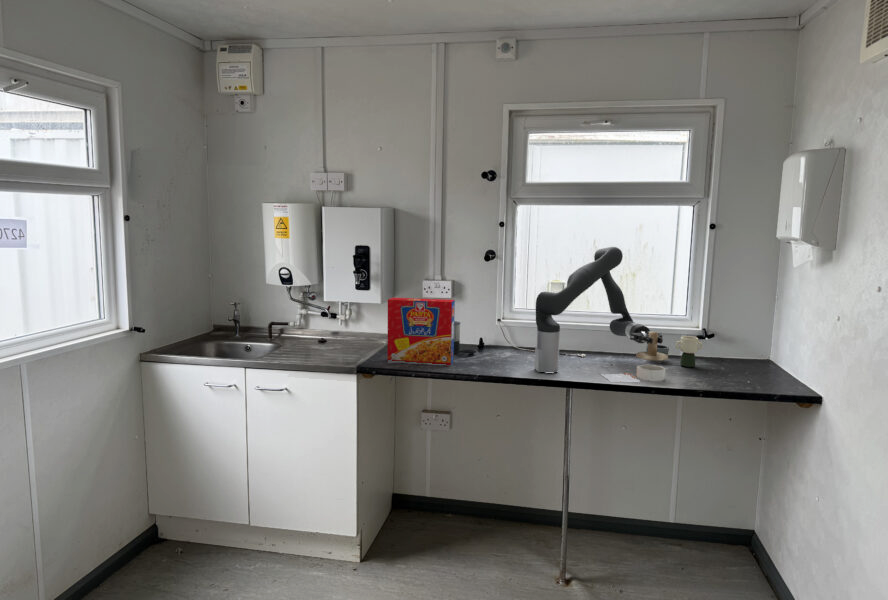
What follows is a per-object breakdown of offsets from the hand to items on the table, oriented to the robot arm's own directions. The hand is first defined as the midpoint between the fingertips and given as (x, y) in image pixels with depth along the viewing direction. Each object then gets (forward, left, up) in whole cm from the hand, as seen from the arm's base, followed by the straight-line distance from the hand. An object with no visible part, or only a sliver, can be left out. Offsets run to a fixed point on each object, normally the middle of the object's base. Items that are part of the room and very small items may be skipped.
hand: (656, 341), depth 222 cm
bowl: (0, +3, -16) cm, 16 cm away
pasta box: (-91, +33, -16) cm, 98 cm away
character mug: (+26, +22, -16) cm, 37 cm away
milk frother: (-73, +50, -16) cm, 89 cm away
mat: (-13, +3, -16) cm, 21 cm away
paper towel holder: (0, +3, -7) cm, 8 cm away
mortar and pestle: (+16, +32, -16) cm, 39 cm away
